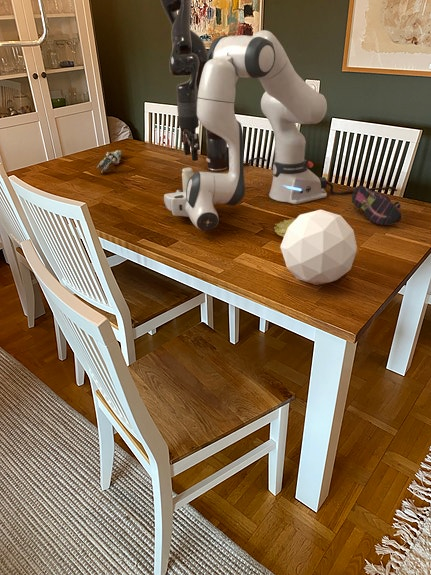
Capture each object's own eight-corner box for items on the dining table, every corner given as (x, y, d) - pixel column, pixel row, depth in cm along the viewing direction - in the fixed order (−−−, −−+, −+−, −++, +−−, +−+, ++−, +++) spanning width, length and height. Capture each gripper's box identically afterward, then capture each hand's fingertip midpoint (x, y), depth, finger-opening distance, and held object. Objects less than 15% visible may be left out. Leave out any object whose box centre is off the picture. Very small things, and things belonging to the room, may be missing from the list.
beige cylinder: (190, 205, 169) (188, 166, 161) (197, 207, 167) (195, 168, 159) (181, 208, 167) (178, 169, 159) (189, 211, 164) (186, 171, 156)
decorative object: (286, 211, 157) (342, 219, 147) (286, 217, 158) (341, 226, 148) (260, 233, 142) (319, 243, 133) (260, 240, 144) (319, 251, 134)
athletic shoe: (393, 214, 141) (421, 210, 145) (357, 172, 153) (384, 169, 157) (376, 239, 150) (403, 235, 154) (344, 197, 161) (370, 194, 166)
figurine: (101, 154, 197) (119, 141, 223) (91, 167, 200) (110, 152, 227) (114, 165, 199) (130, 151, 225) (103, 178, 203) (121, 162, 229)
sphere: (293, 297, 126) (258, 236, 124) (350, 261, 128) (317, 201, 126) (319, 302, 107) (278, 231, 105) (385, 260, 109) (347, 189, 107)
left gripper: (172, 111, 168) (176, 154, 177) (184, 119, 157) (188, 164, 166) (191, 109, 171) (194, 151, 180) (204, 116, 160) (207, 160, 168)
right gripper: (225, 191, 153) (215, 179, 164) (167, 199, 149) (160, 185, 160) (225, 209, 156) (215, 195, 168) (168, 216, 152) (162, 202, 164)
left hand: (191, 157), depth 173 cm, fingers open, 8 cm apart
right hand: (188, 190), depth 164 cm, fingers open, 6 cm apart
